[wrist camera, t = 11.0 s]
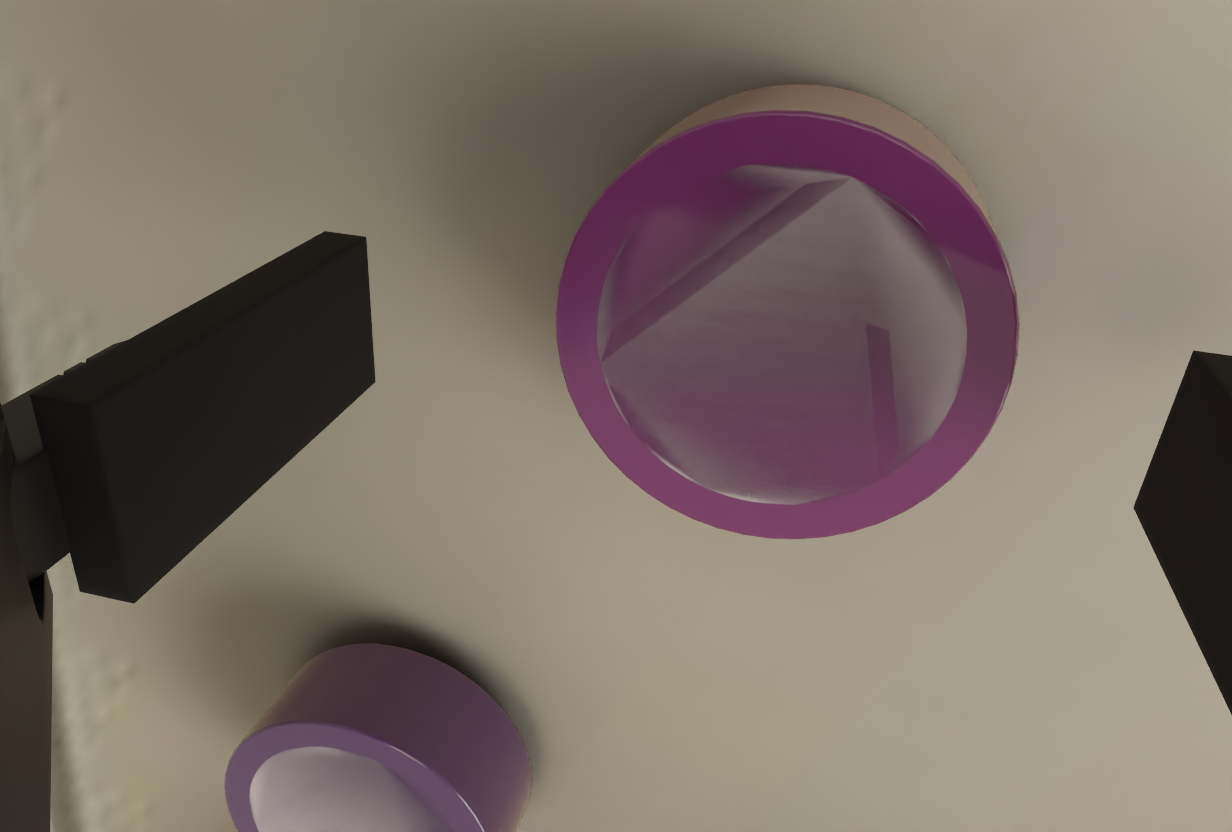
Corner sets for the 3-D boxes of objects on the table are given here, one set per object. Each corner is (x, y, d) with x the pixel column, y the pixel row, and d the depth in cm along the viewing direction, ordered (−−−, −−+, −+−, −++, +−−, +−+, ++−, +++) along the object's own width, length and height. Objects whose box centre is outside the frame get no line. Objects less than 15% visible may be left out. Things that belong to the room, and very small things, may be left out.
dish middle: (311, 788, 32) (241, 892, 28) (288, 599, 28) (204, 692, 24) (538, 848, 30) (493, 966, 27) (545, 657, 26) (495, 765, 23)
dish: (598, 413, 23) (547, 498, 19) (620, 59, 19) (562, 85, 15) (944, 472, 21) (957, 577, 18) (1041, 100, 17) (1082, 140, 14)
